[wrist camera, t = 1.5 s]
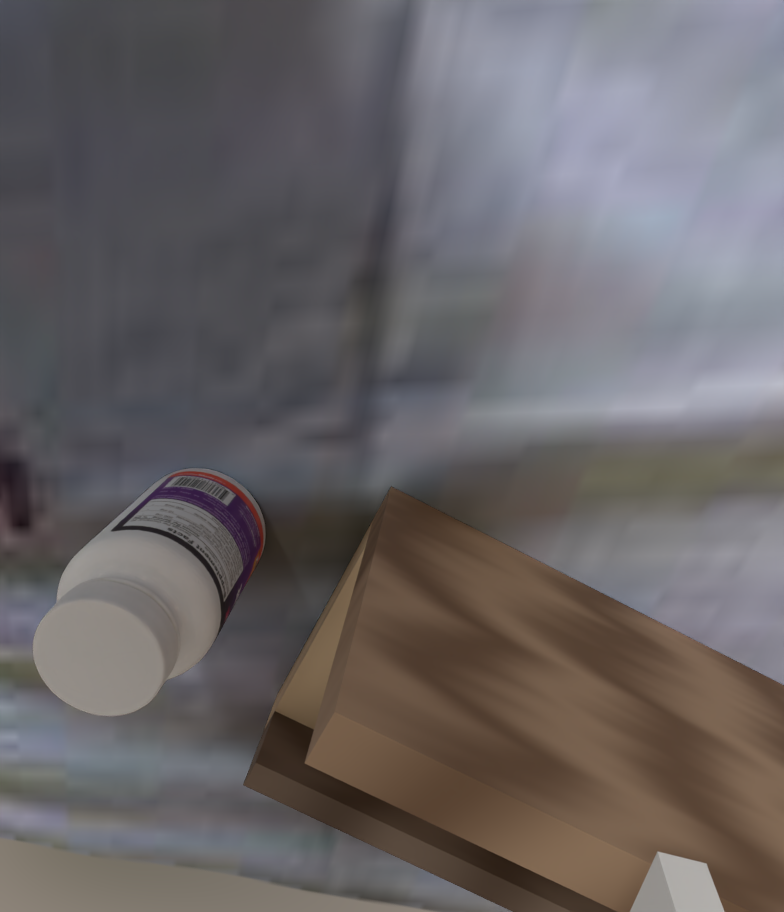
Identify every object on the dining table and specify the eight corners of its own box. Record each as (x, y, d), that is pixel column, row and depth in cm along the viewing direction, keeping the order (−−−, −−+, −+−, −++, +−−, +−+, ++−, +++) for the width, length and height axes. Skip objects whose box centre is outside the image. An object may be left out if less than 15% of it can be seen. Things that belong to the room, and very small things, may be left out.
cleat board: (277, 694, 33) (154, 1018, 20) (390, 486, 29) (334, 711, 16) (664, 880, 34) (792, 1299, 21) (818, 702, 31) (1089, 1074, 18)
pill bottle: (191, 604, 32) (83, 762, 23) (116, 503, 31) (-31, 627, 22) (294, 548, 31) (223, 693, 21) (220, 441, 29) (111, 545, 20)
